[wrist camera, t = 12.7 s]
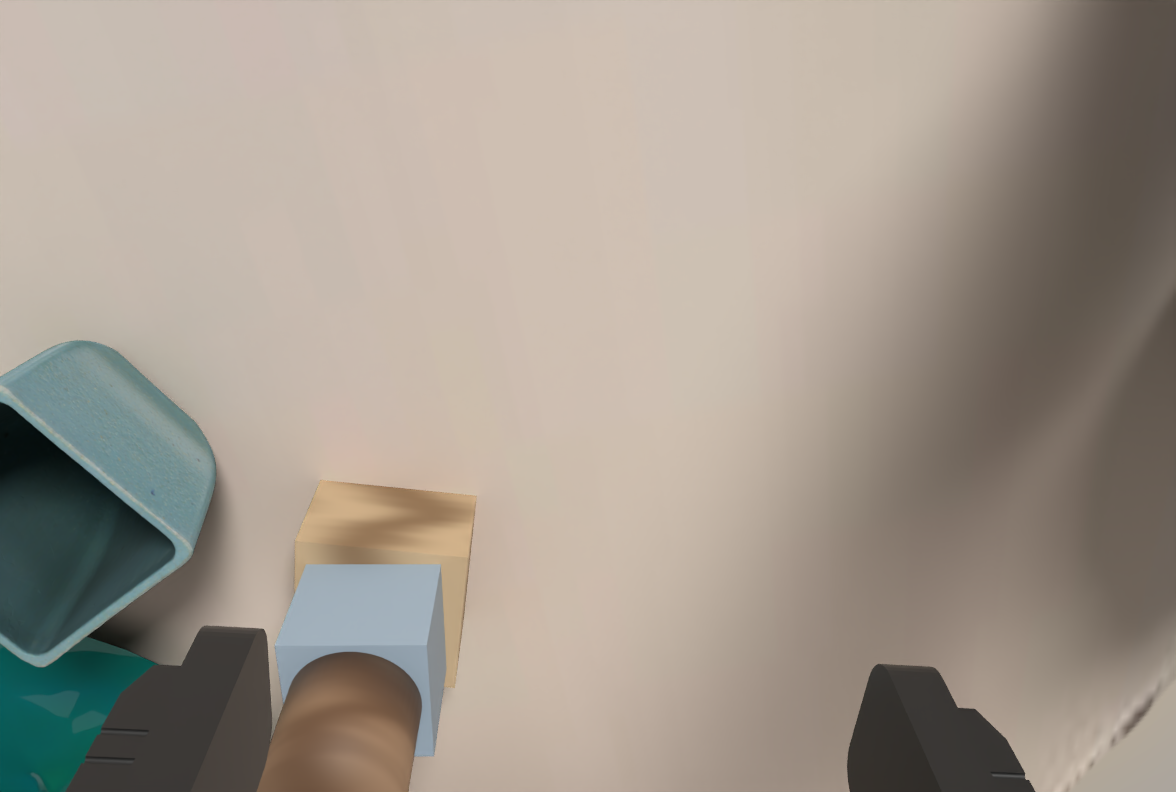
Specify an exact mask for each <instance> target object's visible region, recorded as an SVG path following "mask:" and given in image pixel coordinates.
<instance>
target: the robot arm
mask: <svg viewBox="0 0 1176 792" xmlns="http://www.w3.org/2000/svg"><path fill="white" fill-rule="evenodd" d="M271 728H272V712H271V695H270V679H269V662H268V646H267V636H266V633H265V631H264V629H259V628H240V627H222V626H203V627H202V628H201V629H200V631H199V632H198V634H197V636H196V638H195V640H194V642H193V644H192V646H191V648H190V650H189V652H188V654H187V656H186V658H185V660H184V662H183V664H182V666H169V665H153V666H152V667H151V668H150V669H148V670H147V671H146V672H145V673H144V674H143V675H141V676H140V677H139V678H138V679H137V680H136V681H134V682H133V683H132V684H131V685H130V686H129V687H127V688H126V689H125V690H124V691H123V692H122V693H120V695H119V697H118V699H117V700H116V702H115V704H114V706H113V708H112V709H111V711H110V713H109V715H108V716H107V718H106V720H105V722H104V724H103V725H102V727H101V733H100V735H97V736H96V738H95V740H94V741H93V743H92V745H91V747H90V749H89V750H88V752H87V754H86V756H85V762H84V763H81V765H80V766H79V768H78V770H77V772H76V774H75V775H74V777H73V779H72V781H71V782H70V784H69V786H68V788H67V790H66V791H65V792H257V789H258V786H259V783H260V780H261V777H262V774H263V771H264V768H265V764H266V761H267V756H268V751H269V746H270V739H271ZM847 772H848V783H849V789H850V792H1035V790H1034V788H1033V787H1032V785H1031V783H1030V781H1029V780H1026V779H1025V772H1024V770H1023V768H1022V767H1021V765H1020V763H1019V761H1018V759H1017V758H1016V756H1015V754H1014V752H1013V750H1012V749H1011V747H1010V745H1009V743H1008V741H1007V740H1006V738H1005V737H1003V736H1002V735H1001V734H1000V733H999V732H998V731H997V730H996V729H995V728H994V727H993V726H992V725H991V724H990V723H989V722H988V721H987V720H986V719H985V718H984V717H983V716H982V715H981V714H980V713H979V712H978V711H976V710H975V709H967V708H958V707H957V706H956V704H955V702H954V700H953V698H952V696H951V694H950V692H949V690H948V688H947V686H946V684H945V682H944V680H943V678H942V676H941V675H940V673H939V672H938V671H937V670H936V669H935V668H933V667H924V666H905V665H887V664H878V665H876V666H875V667H874V668H873V669H872V671H871V674H870V676H869V680H868V683H867V687H866V690H865V694H864V697H863V701H862V704H861V708H860V711H859V715H858V718H857V722H856V725H855V729H854V732H853V735H852V739H851V742H850V746H849V751H848V761H847Z"/></svg>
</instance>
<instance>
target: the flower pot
mask: <svg viewBox="0 0 1176 792" xmlns="http://www.w3.org/2000/svg"><path fill="white" fill-rule="evenodd" d="M215 483H216V463H215V458H214V455H213V452H212V449H211V447H210V445H209V443H208V441H207V439H206V437H205V436H204V434H203V433H202V431H201V430H200V428H199V427H198V425H197V424H196V423H195V422H194V421H193V420H192V419H191V418H190V417H189V416H188V415H187V414H186V413H185V412H183V411H182V410H181V409H180V408H179V407H178V406H177V405H175V404H174V403H173V402H172V401H171V400H170V399H169V398H168V397H166V396H165V395H164V394H163V393H162V392H161V391H160V390H159V389H158V388H157V387H155V386H154V385H153V384H152V383H151V382H150V381H149V380H148V379H147V378H146V377H145V376H143V375H142V374H141V373H140V372H139V371H138V370H137V369H136V368H135V367H134V366H133V365H131V364H130V363H129V362H128V361H127V360H126V359H125V358H124V357H123V356H122V355H121V354H119V353H118V352H117V351H115V350H114V349H112V348H110V347H107V346H105V345H102V344H99V343H96V342H91V341H70V342H65V343H61V344H58V345H56V346H53V347H51V348H49V349H47V350H45V351H43V352H42V353H40V354H38V355H36V356H35V357H33V358H31V359H30V360H28V361H26V362H24V363H23V364H21V365H19V366H18V367H16V368H14V369H13V370H11V371H9V372H8V373H6V374H4V375H3V376H1V377H0V644H2V645H3V646H4V647H6V648H7V649H8V650H9V651H11V652H12V653H13V654H15V655H16V656H17V657H19V658H20V659H21V660H24V661H26V662H28V663H30V664H32V665H34V666H36V667H46V666H48V665H49V664H51V663H53V662H54V661H55V660H57V659H58V658H59V657H60V656H62V655H63V654H64V653H66V652H67V651H68V650H70V649H71V648H72V647H73V646H74V645H76V644H77V643H79V642H80V641H81V640H82V639H84V638H85V637H86V636H88V635H89V634H90V633H92V632H93V631H94V630H96V629H97V628H99V627H100V626H101V625H103V624H104V623H105V622H106V621H107V620H109V619H110V618H112V617H113V616H114V615H116V614H117V613H118V612H120V611H121V610H123V609H124V608H125V607H127V606H128V605H129V604H130V603H132V602H133V601H134V600H136V599H137V598H139V597H140V596H142V595H143V594H144V593H146V592H147V591H148V590H150V589H151V588H152V587H154V586H155V585H156V584H157V583H159V582H160V581H162V580H163V579H164V578H166V577H168V576H169V575H170V574H172V573H173V572H174V571H176V570H177V569H178V568H180V567H181V566H183V565H184V564H185V563H186V562H187V561H188V560H189V559H190V558H191V557H192V555H193V552H194V549H195V546H196V543H197V540H198V537H199V534H200V531H201V528H202V525H203V522H204V519H205V517H206V513H207V510H208V507H209V504H210V501H211V498H212V495H213V491H214V488H215Z"/></svg>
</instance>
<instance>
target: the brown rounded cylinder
mask: <svg viewBox="0 0 1176 792" xmlns="http://www.w3.org/2000/svg"><path fill="white" fill-rule="evenodd" d="M421 712H422V699H421V695H420V692H419V690H418V687H417V686H416V684H415V682H414V681H413V680H412V678H411V677H410V676H409V675H408V674H407V673H406V672H405V671H404V670H403V669H401V668H400V667H399V666H397V665H396V664H394V663H392V662H391V661H389V660H386V659H384V658H382V657H379V656H376V655H373V654H368V653H362V652H338V653H333V654H328V655H325V656H322V657H319V658H317V659H315V660H313V661H311V662H310V663H308V664H307V665H305V666H304V667H303V668H302V669H301V670H300V671H299V672H298V673H297V674H296V676H295V677H294V679H293V680H292V683H291V685H290V687H289V690H288V693H287V696H286V699H285V702H284V705H283V708H282V711H281V713H280V716H279V719H278V722H277V725H276V728H275V731H274V734H273V737H272V739H271V742H270V746H269V751H268V756H267V761H266V764H265V768H264V771H263V774H262V777H261V780H260V783H259V786H258V789H257V792H408V790H409V784H410V778H411V772H412V766H413V760H414V754H415V748H416V742H417V736H418V730H419V724H420V718H421Z"/></svg>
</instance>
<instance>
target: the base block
mask: <svg viewBox="0 0 1176 792" xmlns="http://www.w3.org/2000/svg"><path fill="white" fill-rule="evenodd" d="M475 506H476V496H473V495H463V494H453V493H443V492H433V491H423V490H413V489H403V488H393V487H383V486H373V485H363V484H353V483H344V482H334V481H324V480H320V483H319V485H318V487H317V490H316V492H315V495H314V497H313V499H312V502H311V504H310V507H309V509H308V511H307V514H306V516H305V518H304V521H303V523H302V526H301V528H300V530H299V533H298V535H297V538H296V540H295V589H294V594H295V592H296V589H297V587H298V584H299V581H300V579H301V576H302V574H303V571H304V568H305V566H306V564H441V574H442V592H443V611H444V630H445V648H446V667H447V669H446V676H445V683H444V687H450V688H455V682H456V674H457V666H458V658H459V651H460V643H461V635H462V628H463V620H464V611H465V601H466V592H467V582H468V573H469V563H470V554H471V544H472V535H473V525H474V516H475Z"/></svg>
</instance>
